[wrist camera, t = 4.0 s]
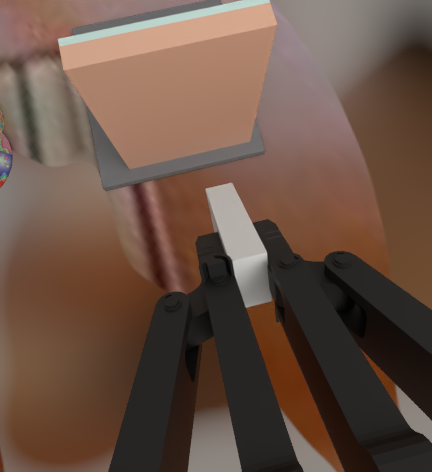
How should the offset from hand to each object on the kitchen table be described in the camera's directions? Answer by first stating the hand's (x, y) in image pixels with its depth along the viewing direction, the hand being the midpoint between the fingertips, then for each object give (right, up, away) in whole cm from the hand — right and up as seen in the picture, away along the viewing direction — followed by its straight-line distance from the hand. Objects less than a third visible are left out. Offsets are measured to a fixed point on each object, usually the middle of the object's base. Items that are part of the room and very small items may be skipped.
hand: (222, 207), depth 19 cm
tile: (-3, +7, +13) cm, 15 cm away
